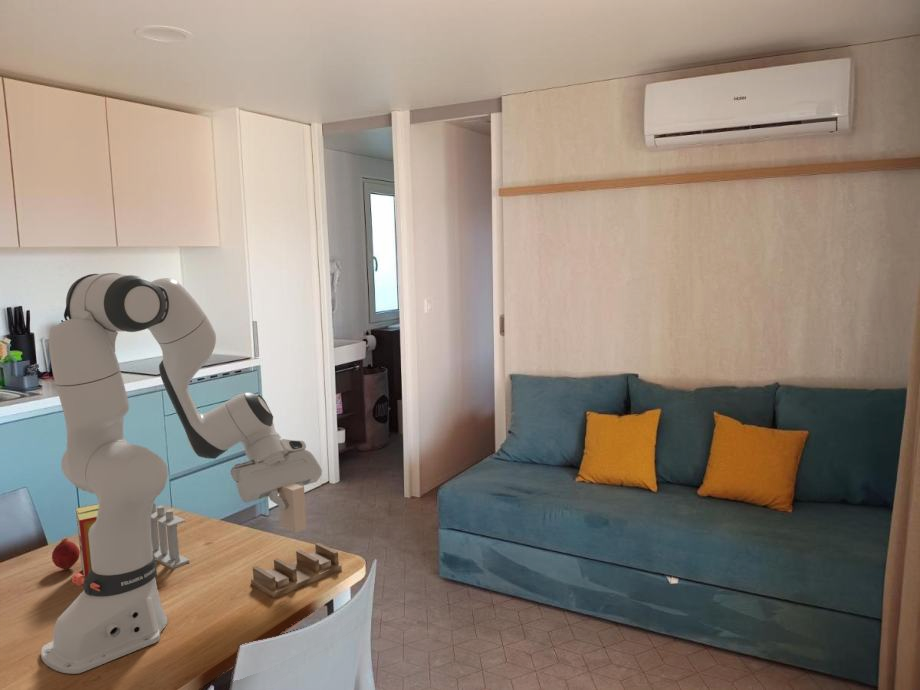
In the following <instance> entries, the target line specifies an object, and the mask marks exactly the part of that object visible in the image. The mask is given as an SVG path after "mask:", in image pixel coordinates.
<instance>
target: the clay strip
mask: <svg viewBox="0 0 920 690" xmlns="http://www.w3.org/2000/svg"><path fill="white" fill-rule="evenodd" d="M278 496H279V497H280V498H282V499H283V500H284V499H286V500H287V503H288V504H289V507H288V508H287V509H285V510H280V509H279V517H280V527H282V528H284V529H287V530H288V531H291V532H293V533H294V534H296V533H299V532H301V531H304V530H307V512H306V501H305V499H306V495H305V486H304V487H303V486H301V485H298V484H296V483H290V484H286V485H283V486H282V487H281V488H279V493H278Z"/></svg>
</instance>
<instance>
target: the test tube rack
mask: <svg viewBox="0 0 920 690" xmlns="http://www.w3.org/2000/svg"><path fill="white" fill-rule="evenodd" d="M165 508H166V507H165V506H164V505H158V506H157V504H156V502H155V501H154V504H153V508H152V513H151V540H152V553H153V555H154V556H155V559H156V560H155V561H156V562H159V563H161V564H162V565H164V566H166V567H168V568H170V569H171V570H174V569H176V568H179V567H181V566H183V565H186V563H187V564H189V563H190V559H189V558H187V557H185V556H183V555H181V554H180V553H179V552H180V551H179V538H178V525H179V524H183V523H186V519H184V518H182V517H180V516H177V515H175V514H174V510H173V509H167V510H165Z"/></svg>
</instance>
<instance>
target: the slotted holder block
mask: <svg viewBox="0 0 920 690" xmlns="http://www.w3.org/2000/svg"><path fill="white" fill-rule="evenodd" d="M295 554H296V555H295V556H296V557H295V558H296V560H295V561H293V562H290V563H287V562H285V561H284V560H282V559H280V558H278V557H276V558H275V559H273V567H274V568H273V567H271V568H268V569H266V570H265V569H263V568H261V567H260V566H257V565H256V566H253V567H252V575H253V576H252V577H251V578H250V583H251V585H253V586H254V587H256V588H257V589H258V590H260V589H261V590H260V591H263V592H264V593H265V594H266V595H269V596H270V597H271V598H273V599H276V598H278V597H281V596H283V595H286V594H287V593H290V592H293V591H295V590H297V589H299V588H302V587H304V586H307V585H310V584H312V583H313V582H316V581H318V580H321V579H324V578H325V577H328V576H331V575H333V574H336V573H338V572H339V571H342V570H343V568H342V567H343V566H342V564H340V562H339V551H337V550H334V549H333V548H331V547H328V546H327V545H324V544H322V543H321V542H317V543H315V551H312V552H310V553H307V552H305V551H303V550H301V549H298V550H296V551H295Z"/></svg>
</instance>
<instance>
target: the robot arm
mask: <svg viewBox="0 0 920 690" xmlns="http://www.w3.org/2000/svg"><path fill="white" fill-rule="evenodd" d="M65 298H66V299H65V308H64V313H63V318H64V321H62V322H59V324H57V325H56V326H54V327H53V328H52V329H51V331H50V333H49V336H48V349H49V359H50V364H51V365H50V366H51V371H52V376H53V379H54V383H55V387H56V390H57V393H58V398H59V401H60V405H61V409H62V412H63V416H64V421H65V427H66V450H65V452H64V453H63V455H62V458H61V465H60V466H61V471H62V474H63V476H64V477H65V478H66V480H68V481H69V482H70V484H72V485H73V486H74V487H76V488H77V489H79V490H81V491H84V492H86V493H90V494H93V495H95V496H96V498H97V501H98V504H99V507H98V514H97V519H96V522H94V523H93V525H92V526H91V527H90V529H89V533H88V538H89V548H90V557H91V568H90V570H89V573H88V575H87V577H86V576H84V575H83V573H82V574H81V573H79V572H77V573H74V574H73V576H72V578H71V581H72V583H73V584H74V585H77V586H79V587H81V586H83V590H82V591H81V592H80V594H79V595H78V596H77V597H76V598H75V599H74V600H73V602H71V604H69V606H68V607H67V608H66V609H65V610H64V611H63V612H62V613H61V614H60V615H59V616H58V617H57V619H56V621H55V623H54V628H53V637H52V638H53V639H52V641H50V642H48V643H45V645H43V646H42V647H41V651H40V656H41V657H40V658H41V661H42V662H43V664H45V665H46V666H48V667H49V668H50V669H52V670H54V671H56V672H58V673H59V672H60V673H63V674H73V675H75V674H77V675H78V674H81V673H83V672H87V671H90V670H91V669H94V668H97V667H99V666H101V665H103V664H107V663H108V662H111V661H113V660H116V659H118V658H121V657H124V656H126V655H128V654H131V653H133V652H136V651H138V650H141V649H143V648H144V649H145V647H148V646H151V645H153V644H155V643H157V642H159V641H160V638H161V633H162V631H163V630H164V628H165V627H166V626H167V623H168V616H167V614H166V613H165V610H164V608H163V605H162V601H161V598H160V595H159V591H158V586H157V579H158V578H157V577H158V573H157V572H158V571H157V570H158V569H157V560H155V556H154V555H153V553H152V540H151V513H152V508H153V504H154V502H155V500H156V498H158V497H159V495H160V494H162V492H163V491H164V489H165V487H166V485H167V482H168V477H169V470H168V466H167V463H166V462H165V461H164V459H163V458H162V457H161V456H159V455H158V454H157V453H155V451H154V452H153V451H152V450H150V449H149V448H148V447H147V448H146V447H144V446H141V445H137V444H133V443H128V441H127V439H126V438H125V436H124V418H125V416H126V415H127V413H128V412H129V409H130V402H129V399H128V395H127V391H126V386H125V383H124V379H123V375H122V371H121V369H120V363H119V361H118V358H117V354H116V340H117V336H118V334H119V332H127V333H136V332H141V331H144V330H148V331H149V332H150V333H151V335H152V337H153V338H154V339H155V340H156V343H158V345H159V346H160V348H161V352H162V360H161V361H160V363H159V364H158V370H159V375H160V378H161V381H162V384H163V386H164V388H165V391H166V393H167V394H168V397H169V399H170V402H171V404H172V406H173V409H174V410H175V412H176V414H177V416H178V419H179V421H180V422H181V424H182V427H183V429H184V431H185V434H186V438H187V439H186V440H187V442H188V443H189V447H190V448H191V450H192V451H193V452H194V454H195V455H197V456H198V457H199V458H204V459H210V460H211V459H213V460H215V459H217V458H218V457H219V456H222V454H224V453H225V452H227V451H228V450H229V449H231V448H233V447H235V446H236V445H238V444H239V443H241V444H242V445H243V447H244V448H243V449H244V452H245V455H246V458H247V459H248V461H244V462H242V463H236V464H234V466H233V467H232V468H231V469H230V475H231V478H232V479H233V481H234V482H235V485H236V488H237V492H238V493H239V494H238V495H239V497H240V500H241V501H243V502H245V503H251V502H253V501H257V500H260V499H264V498H269V499H270V501H271V502H273V503H275V504H276V505H277V506H278V507H279V511H280V510H285V509H287V508H288V507H289V504H288V503H287V500H286V499H284V500H283V499H282V498H280V497H279V488H281V487H282V486H283V485H286V484H290V483H296V484H298V485H301V486H303V487H304V488H305V486H307V485H311V484H314V483H317V482H318V481H319V479H320V478H321V476H322V473H323V469H322V468H321V465H320V464H319V462H318V461H317V459H316V457H315V456H314V454H313V453H312V452H311V451H309V450H307V449H306V448H307V444H306V443H305V441H304V440H297V439H285V438H282V437H281V435H280V434H279V433H278V432H277V431H276V429H275V425H274V415H273V413H272V412H271V409H270V407H269V405H268V404H267V402H266V400H265V399H264V397H262V395H260V394H257V393H253V392H250V391H244V392H243V393H239V394H237V395H236V396H234V397H232V398H230V399H229V400H227V401H225V402H224V403H222V404H220V405H218V406H217V407H215V408H213V409H212V410H211V409H210V410H209V411H207V412H205V413H200V412H199V411H198V409H197V406H196V405H195V402H194V400H193V398H192V396H191V394H190V393H191V392H190V390H189V389H188V388H189V385H190V382H191V381H192V379H193V378H194V377H195V375H196V374H197V373H198V372H199V370H201V368H202V367H203V366H204V365H205V364H207V362H208V361H209V360H210V358H211V356H212V354H213V352H214V350H215V347H216V342H217V337H216V336H217V335H216V331H215V329H214V328H213V325H212V323H211V321H210V319H209V318H208V316H207V315H206V314H205V312H204V310H203V309H202V308H201V306H200V305H199V303H198V302H197V301H196V300H195V298H194V297H193V296H192V295H191V294H190V293H189V292H188V290H186V288H185V287H183V286H182V284H180V283H179V282H178V281H177V280H175V279H173V278H157V279H154V280H153V281H150V280H149V279H146V278H145V277H141V276H138V275H134V274H131V275H130V274H129V275H126V274H121V273H116V272H107V273H92V274H91V273H90V274H87V275H84V276H82V277H80V278H78V279H76V280H75V281H74V282H72V284H71V285H70V287H69V289H68V291H67V294H66V297H65ZM306 499H307V498H305V502H306Z"/></svg>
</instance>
